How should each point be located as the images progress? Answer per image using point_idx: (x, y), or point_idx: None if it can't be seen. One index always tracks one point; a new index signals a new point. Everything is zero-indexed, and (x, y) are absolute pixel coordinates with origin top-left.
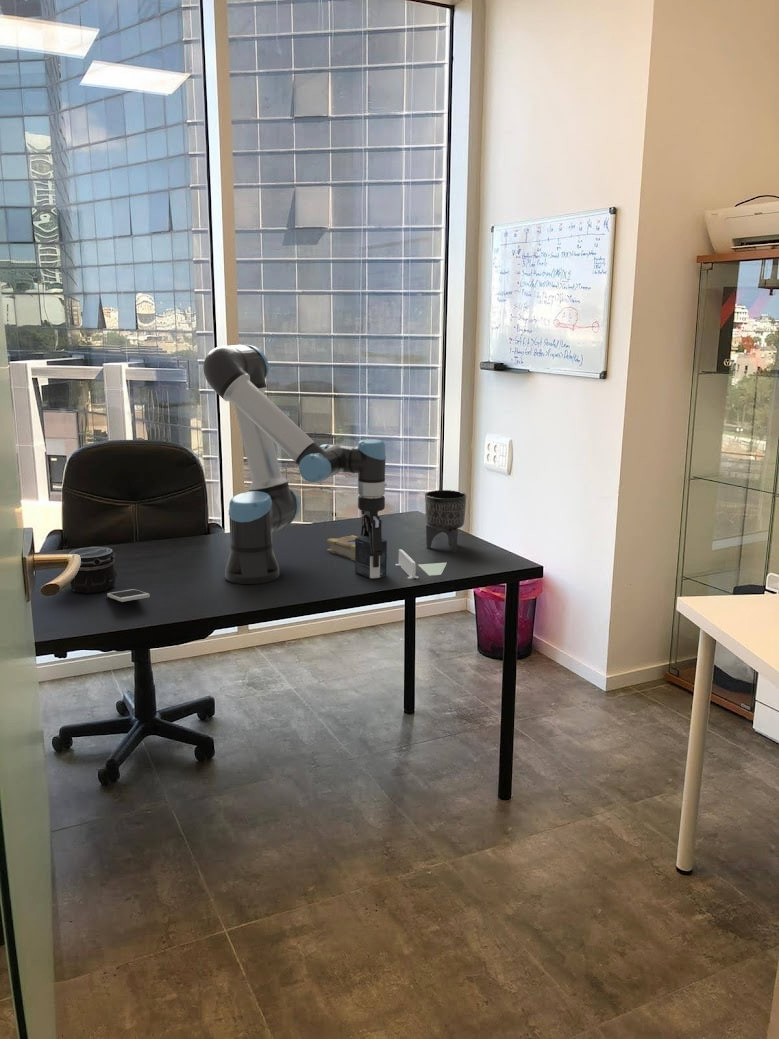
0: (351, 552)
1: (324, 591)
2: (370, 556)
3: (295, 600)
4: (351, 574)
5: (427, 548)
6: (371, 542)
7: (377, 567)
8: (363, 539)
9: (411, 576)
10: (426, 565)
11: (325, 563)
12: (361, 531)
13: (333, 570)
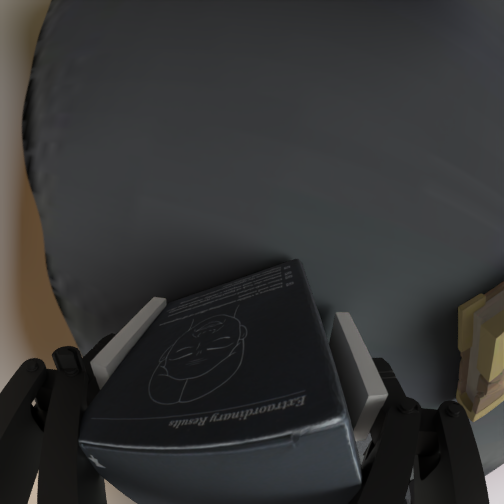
0: (502, 309)
1: (91, 69)
2: (96, 360)
3: (68, 4)
4: (292, 234)
5: (413, 482)
6: (45, 435)
7: None
8: (192, 462)
9: None
10: None
11: (483, 171)
12: (456, 472)
13: (388, 162)
